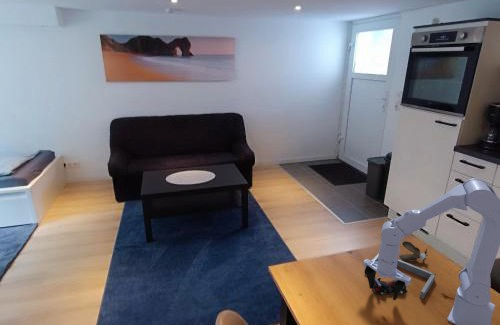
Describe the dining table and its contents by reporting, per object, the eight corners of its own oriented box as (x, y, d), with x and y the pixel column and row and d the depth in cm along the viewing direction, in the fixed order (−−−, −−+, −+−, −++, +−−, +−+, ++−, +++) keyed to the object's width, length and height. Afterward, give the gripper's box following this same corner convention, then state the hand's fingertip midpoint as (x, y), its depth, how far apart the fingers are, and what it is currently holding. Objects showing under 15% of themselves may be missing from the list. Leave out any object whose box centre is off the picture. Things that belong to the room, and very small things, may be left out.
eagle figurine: (424, 252, 124) (400, 244, 127) (430, 245, 118) (405, 237, 121) (421, 269, 120) (397, 260, 123) (428, 263, 114) (402, 254, 117)
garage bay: (434, 279, 109) (435, 274, 109) (423, 298, 101) (424, 292, 100) (379, 257, 123) (379, 251, 122) (364, 272, 114) (365, 266, 113)
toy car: (369, 284, 108) (370, 274, 107) (402, 282, 108) (403, 273, 107) (376, 296, 102) (378, 286, 101) (411, 295, 102) (413, 285, 101)
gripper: (360, 253, 99) (356, 288, 103) (407, 273, 89) (401, 310, 93) (370, 245, 104) (366, 278, 108) (415, 262, 94) (409, 298, 98)
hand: (383, 292), depth 101 cm, fingers open, 7 cm apart
